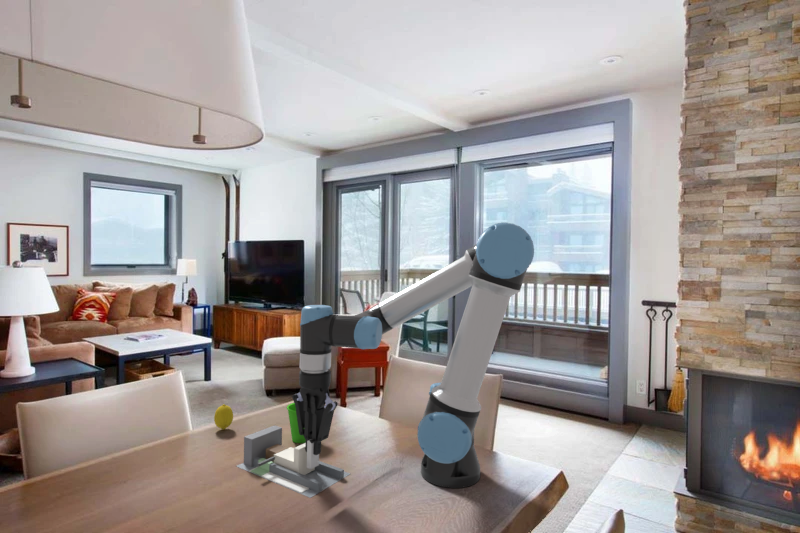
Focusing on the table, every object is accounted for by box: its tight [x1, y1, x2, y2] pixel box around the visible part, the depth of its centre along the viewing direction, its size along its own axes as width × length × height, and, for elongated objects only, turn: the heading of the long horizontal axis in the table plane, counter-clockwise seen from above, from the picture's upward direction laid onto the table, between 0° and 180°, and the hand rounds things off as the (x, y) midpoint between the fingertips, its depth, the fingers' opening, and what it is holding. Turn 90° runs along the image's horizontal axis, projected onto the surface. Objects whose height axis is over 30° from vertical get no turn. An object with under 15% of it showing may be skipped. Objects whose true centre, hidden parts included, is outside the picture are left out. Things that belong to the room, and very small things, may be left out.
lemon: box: [213, 403, 234, 431], centre depth 142 cm, size 6×6×8 cm
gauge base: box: [235, 425, 351, 499], centre depth 114 cm, size 26×14×8 cm, turn 57°
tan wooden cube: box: [266, 444, 289, 463], centre depth 117 cm, size 4×4×4 cm
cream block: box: [258, 443, 315, 475], centre depth 112 cm, size 9×11×7 cm
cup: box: [286, 402, 306, 444], centre depth 133 cm, size 9×9×11 cm
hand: (312, 466), depth 110 cm, fingers closed
